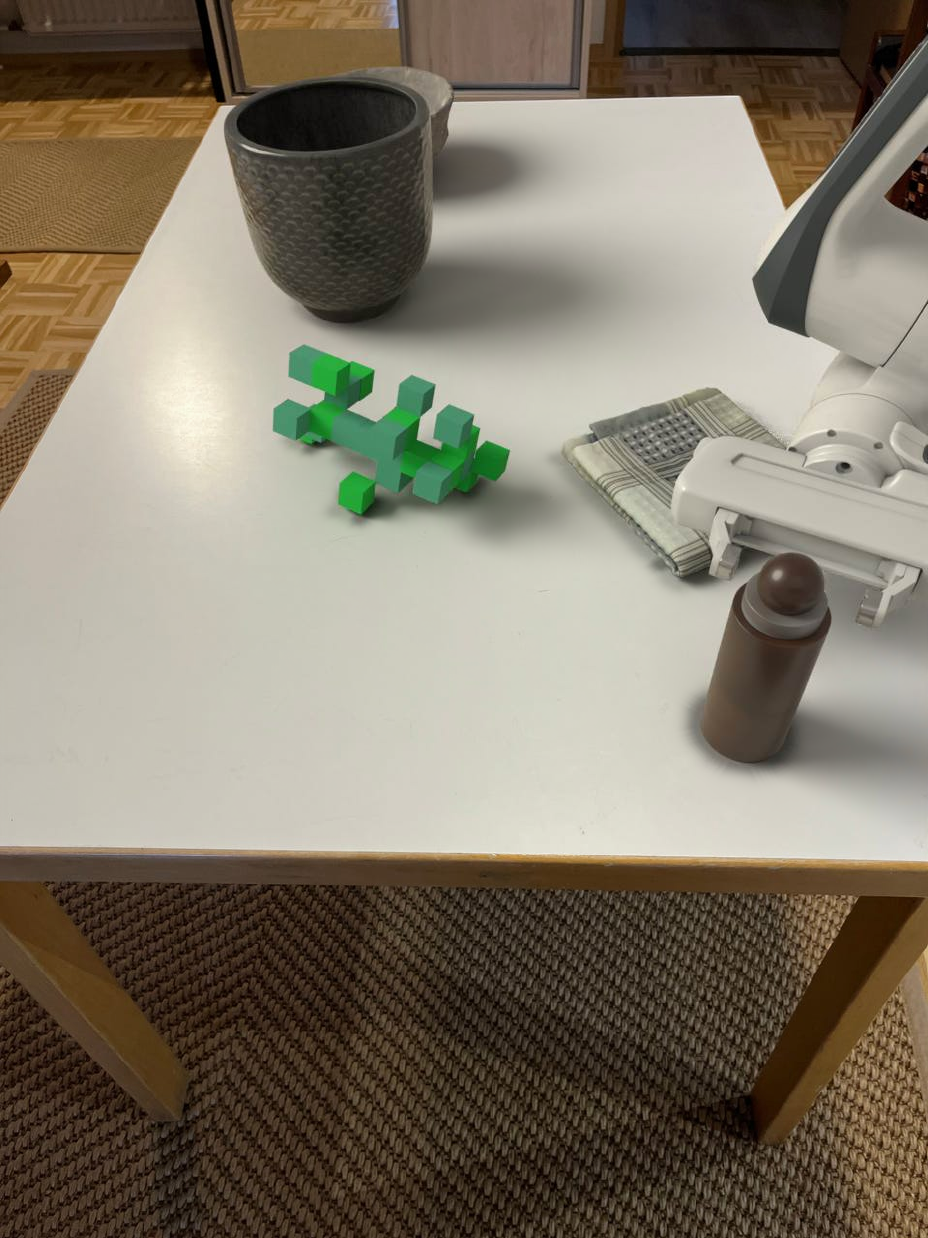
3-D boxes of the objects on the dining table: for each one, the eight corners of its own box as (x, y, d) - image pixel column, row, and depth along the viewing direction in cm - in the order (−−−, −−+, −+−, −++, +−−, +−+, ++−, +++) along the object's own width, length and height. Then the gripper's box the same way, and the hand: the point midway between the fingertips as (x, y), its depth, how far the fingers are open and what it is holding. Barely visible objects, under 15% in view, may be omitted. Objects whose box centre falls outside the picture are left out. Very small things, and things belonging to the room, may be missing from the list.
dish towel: (851, 508, 77) (862, 479, 74) (676, 588, 71) (682, 558, 69) (710, 395, 88) (716, 366, 85) (549, 456, 82) (550, 427, 80)
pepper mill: (785, 701, 64) (849, 533, 52) (784, 769, 60) (853, 606, 48) (703, 688, 65) (747, 520, 53) (697, 754, 61) (743, 590, 49)
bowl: (374, 132, 131) (367, 53, 124) (489, 167, 123) (488, 84, 115) (268, 185, 121) (252, 103, 114) (384, 227, 112) (376, 141, 105)
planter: (316, 242, 110) (287, 65, 96) (468, 269, 105) (462, 85, 91) (228, 327, 99) (180, 140, 84) (394, 362, 93) (373, 168, 79)
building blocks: (507, 468, 86) (532, 360, 75) (480, 572, 79) (503, 469, 68) (300, 417, 87) (295, 302, 76) (255, 517, 80) (243, 406, 69)
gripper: (713, 395, 68) (643, 509, 60) (1015, 474, 61) (981, 615, 53) (700, 463, 72) (633, 576, 64) (978, 544, 65) (942, 682, 57)
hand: (792, 595), depth 59 cm, fingers open, 8 cm apart
